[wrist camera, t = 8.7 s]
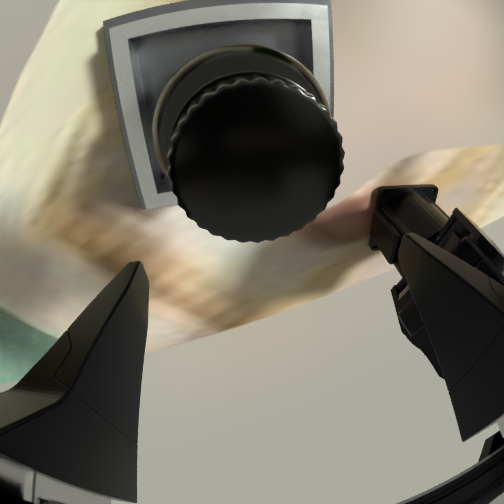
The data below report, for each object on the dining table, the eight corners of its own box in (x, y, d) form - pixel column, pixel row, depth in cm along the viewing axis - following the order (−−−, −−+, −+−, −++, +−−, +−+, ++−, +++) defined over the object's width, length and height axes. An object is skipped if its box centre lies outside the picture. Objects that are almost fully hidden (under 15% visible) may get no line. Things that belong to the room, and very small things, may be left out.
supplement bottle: (228, 168, 20) (245, 302, 10) (153, 101, 16) (75, 180, 7) (306, 103, 17) (411, 181, 8) (235, 26, 14) (269, -17, 4)
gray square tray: (325, -1, 13) (342, -8, 11) (326, 180, 22) (339, 199, 20) (108, 22, 13) (91, 19, 10) (144, 203, 22) (136, 224, 19)
